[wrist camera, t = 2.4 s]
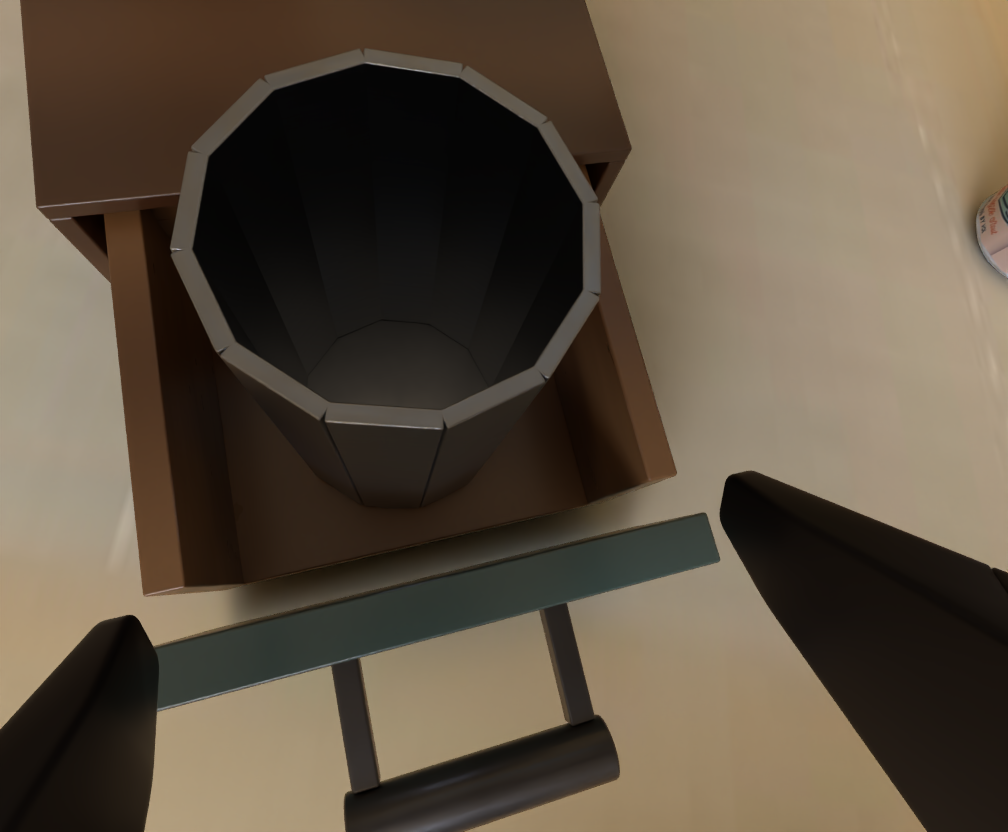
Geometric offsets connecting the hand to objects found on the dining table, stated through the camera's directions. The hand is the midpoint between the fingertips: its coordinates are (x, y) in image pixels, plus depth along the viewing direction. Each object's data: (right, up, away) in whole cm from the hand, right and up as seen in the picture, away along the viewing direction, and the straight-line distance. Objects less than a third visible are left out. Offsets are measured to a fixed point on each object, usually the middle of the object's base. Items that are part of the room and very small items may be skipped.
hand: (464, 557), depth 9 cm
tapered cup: (-3, +2, +10) cm, 11 cm away
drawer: (-2, 0, +10) cm, 11 cm away
